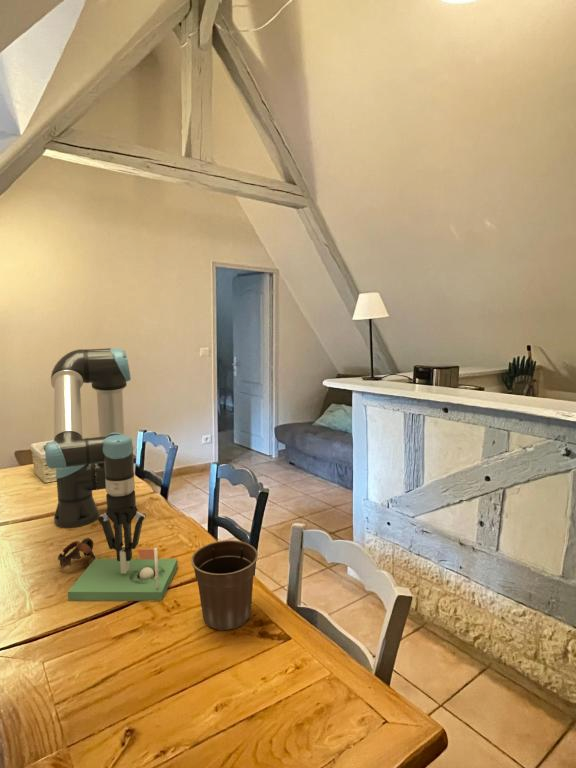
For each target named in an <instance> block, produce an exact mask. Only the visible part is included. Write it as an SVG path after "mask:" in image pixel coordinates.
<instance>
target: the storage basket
mask: <svg viewBox="0 0 576 768" xmlns="http://www.w3.org/2000/svg"><path fill="white" fill-rule="evenodd" d="M52 441H54V439H52V440H51V439H50V440H47V441H39V442H34V443H31V444H30V451H31V457H32V464H33V471H34V473H35V475H36V476H37V477H38V478H39V479H40V480H41V481H42V482H43V483H45V484H46V483H47V484H48V483H52V482H57V478H56V468H49V467H48V466H47V464H46V456H45V446H46V443H48V442H52Z"/></svg>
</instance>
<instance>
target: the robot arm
mask: <svg viewBox="0 0 576 768" xmlns="http://www.w3.org/2000/svg"><path fill="white" fill-rule="evenodd" d="M130 381H132V377H131V372H130V365H129V362H128V357H127V353H126V351H125V350H124V349H122V348H113V347H110V348H109V347H108V348H94V349H93V348H91V349H89V348H88V349H87V348H86V349H83V348H82V349H75V350H74V349H73V350H71V351H70V352H67V353H66V354H65V355H63V356H62V357H61V358H59V360H58V361H57V362H56V364H55V365H54V367H53V369H52V371H51V375H50V384H51V387H52V388H53V389H54V392H53V393H54V398H53V399H54V400H53V401H54V402H53V403H54V405H53V407H54V408H53V412H54V413H53V414H54V415H53V416H54V417H53V440H54V441H52V442H48V443H46V446H45V447H44V451H45V456H46V464H47V466H48V467H49V468H56V478H57V481H56V488H57V505H56V509H55V512H54V517H53V518H54V519H53V520H54V521H53V522H54V525H55V526H56V527H58V528H65V529H70V528H79V527H84V526H87V525H89V524H91V523H94V522H95V521H96V520H97V522H99V524H100V525H101V527H102V530H103V534H104V536H105V539H106V542H107V543H106V544H107V546H108V549H110V550H115V552H116V559H117V561H120V566H121V574H125V573H127V571H128V570H129V561H130V560H131V559H133V551H132V550H135V549H136V548H137V546H138V544H139V541H140V537H141V532H142V527H143V523H144V520H145V519H146V517H147V513H142V512H139V509H138V507H137V505H136V500H137V499H136V491H135V489H136V487H135V484H136V483H135V470H134V468H135V467H134V466H135V465H134V446H133V438H132V437H131V436H129V435H126V434H125V425H124V423H125V421H124V420H125V419H124V400H123V398H124V397H123V396H124V394H123V390H124V389H125V388H126V387H127V382H130ZM84 384H91V388H92V389H93V390H94V391H96V402H97V403H96V404H97V414H98V415H97V417H98V434H99V435H98V436H97V437H86V438H83V422H82V421H83V420H82V418H83V417H82V399H81V388H82V387H83V385H84ZM98 490H105V492H106V493H107V494H106V495H105V499H106V507H107V508H106V510H105V512H104V513H101V514H100V513H99V508H98V506H97V503H96V501H95V499H94V497H93V491H98ZM134 518H135V521H136V523H135V526H134V531H133V537H132V521H133V519H134ZM110 521H111V522H112V523H113V527H112V525H111V522H110ZM113 531H114V532H113ZM123 538H124V539H123ZM123 541H124V542H123Z"/></svg>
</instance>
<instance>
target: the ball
mask: <svg viewBox="0 0 576 768" xmlns="http://www.w3.org/2000/svg"><path fill="white" fill-rule="evenodd" d="M139 577H140V579H141V580H148V579H151V578H153V577H154V571H153V570H152V569H151V568H149V567H145V568H143V569H142V570H141V571H140V574H139Z"/></svg>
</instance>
